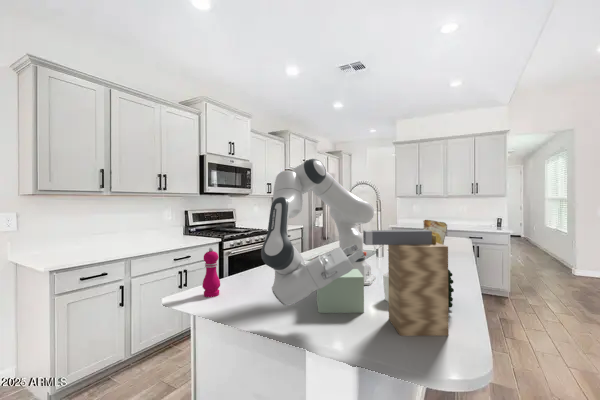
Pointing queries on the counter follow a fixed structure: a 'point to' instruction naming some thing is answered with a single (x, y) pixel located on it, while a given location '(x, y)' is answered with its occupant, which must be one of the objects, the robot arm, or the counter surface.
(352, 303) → the green platform
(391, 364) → the counter surface
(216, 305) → the counter surface
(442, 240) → the pancake mix bag
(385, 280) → the white cup
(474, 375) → the counter surface
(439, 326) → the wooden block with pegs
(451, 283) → the toy figurine
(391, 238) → the bar
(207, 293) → the pepper mill
